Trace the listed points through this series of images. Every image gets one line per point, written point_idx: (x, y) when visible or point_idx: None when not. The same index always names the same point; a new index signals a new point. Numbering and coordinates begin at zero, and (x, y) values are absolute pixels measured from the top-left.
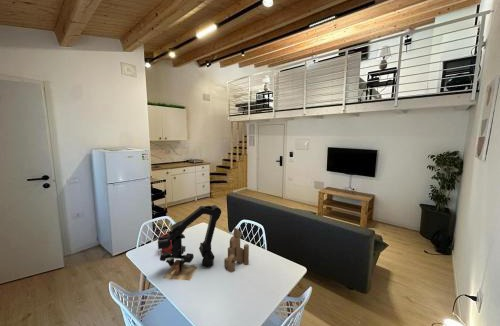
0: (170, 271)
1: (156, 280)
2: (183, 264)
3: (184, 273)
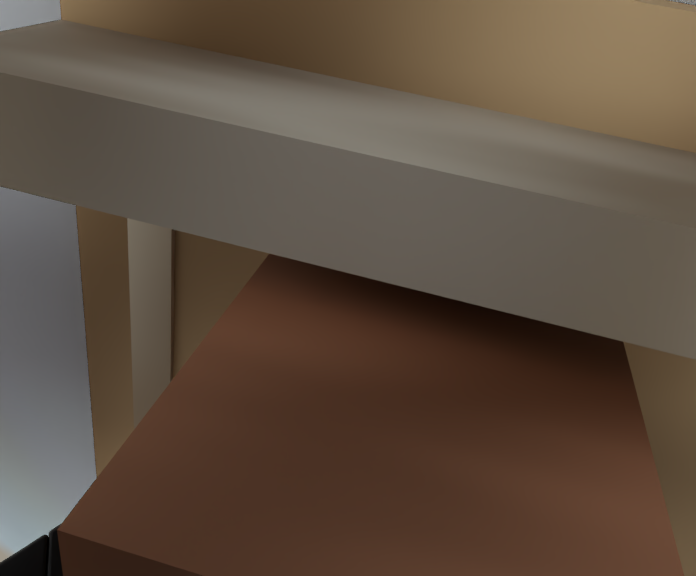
0: (162, 378)
1: (5, 515)
2: (692, 357)
3: (693, 557)
